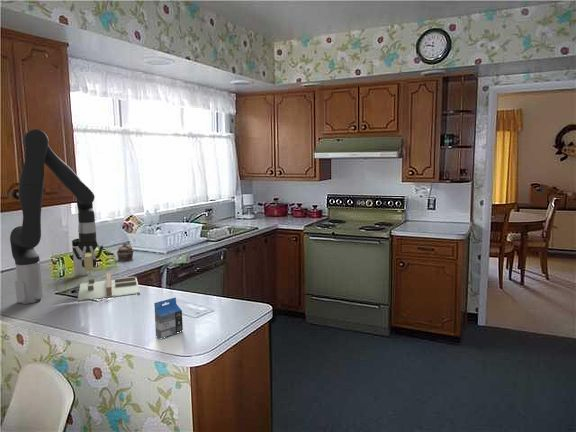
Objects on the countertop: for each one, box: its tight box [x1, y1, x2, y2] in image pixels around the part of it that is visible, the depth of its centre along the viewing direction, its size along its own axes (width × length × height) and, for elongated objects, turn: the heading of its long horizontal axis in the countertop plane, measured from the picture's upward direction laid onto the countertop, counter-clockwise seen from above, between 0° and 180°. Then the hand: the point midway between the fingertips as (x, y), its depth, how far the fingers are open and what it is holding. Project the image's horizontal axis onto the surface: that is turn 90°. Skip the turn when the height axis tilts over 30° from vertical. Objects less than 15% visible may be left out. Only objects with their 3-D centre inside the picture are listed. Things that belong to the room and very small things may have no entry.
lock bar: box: [84, 253, 94, 271], centre depth 209 cm, size 9×4×6 cm, turn 21°
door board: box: [77, 272, 141, 303], centre depth 209 cm, size 26×26×5 cm
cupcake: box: [116, 242, 135, 262], centre depth 267 cm, size 10×10×10 cm
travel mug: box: [71, 238, 89, 278], centre depth 231 cm, size 6×7×20 cm
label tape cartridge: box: [154, 297, 184, 339], centre depth 156 cm, size 9×4×12 cm, turn 136°
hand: (89, 267), depth 209 cm, fingers closed on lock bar, 3 cm apart
